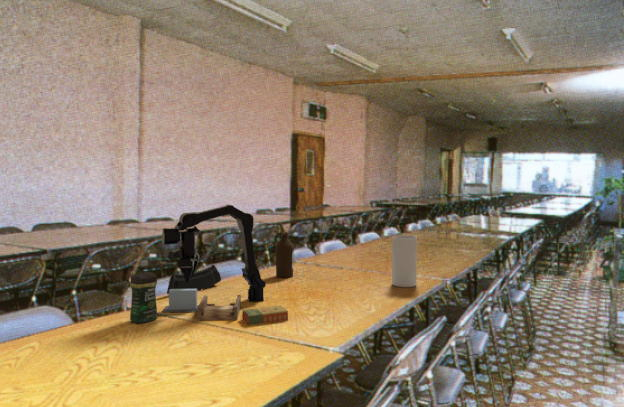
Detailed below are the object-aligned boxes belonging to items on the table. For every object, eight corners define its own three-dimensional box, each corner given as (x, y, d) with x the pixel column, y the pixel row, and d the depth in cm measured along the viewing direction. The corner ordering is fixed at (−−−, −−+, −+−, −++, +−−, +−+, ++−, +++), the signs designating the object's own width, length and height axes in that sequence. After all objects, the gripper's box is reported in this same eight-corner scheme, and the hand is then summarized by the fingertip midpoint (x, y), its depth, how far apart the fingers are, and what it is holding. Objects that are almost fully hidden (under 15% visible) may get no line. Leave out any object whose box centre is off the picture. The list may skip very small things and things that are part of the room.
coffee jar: (140, 325, 176) (139, 276, 175) (126, 321, 180) (126, 273, 179) (161, 319, 184) (160, 271, 183) (148, 315, 188) (147, 269, 187)
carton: (288, 321, 183) (288, 310, 183) (248, 326, 176) (248, 315, 176) (280, 315, 191) (280, 304, 190) (242, 320, 184) (242, 309, 184)
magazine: (166, 278, 215) (214, 252, 237) (161, 277, 217) (210, 251, 239) (175, 311, 220) (222, 282, 242) (171, 310, 222) (218, 281, 244)
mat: (204, 306, 202) (204, 305, 202) (200, 312, 193) (200, 311, 193) (166, 306, 201) (166, 306, 201) (161, 312, 192) (161, 312, 192)
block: (197, 307, 199) (197, 288, 199) (196, 309, 196) (195, 290, 196) (170, 307, 198) (170, 289, 198) (169, 309, 195) (168, 290, 195)
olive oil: (276, 278, 258) (276, 233, 256) (273, 274, 268) (273, 231, 267) (295, 277, 260) (295, 232, 259) (292, 274, 270) (292, 230, 269)
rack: (240, 306, 202) (240, 294, 202) (237, 319, 183) (237, 307, 183) (204, 307, 201) (204, 295, 201) (197, 320, 182) (197, 307, 182)
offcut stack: (234, 313, 191) (234, 304, 191) (233, 318, 185) (233, 309, 185) (204, 314, 190) (204, 305, 190) (202, 318, 184) (202, 309, 184)
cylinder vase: (389, 286, 241) (390, 237, 239) (394, 281, 252) (395, 234, 251) (414, 288, 236) (414, 239, 235) (418, 283, 248) (419, 236, 246)
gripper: (173, 240, 206) (174, 275, 207) (163, 247, 187) (164, 285, 188) (199, 239, 207) (200, 274, 208) (191, 246, 188) (193, 284, 189)
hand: (189, 279), depth 198 cm, fingers open, 9 cm apart
